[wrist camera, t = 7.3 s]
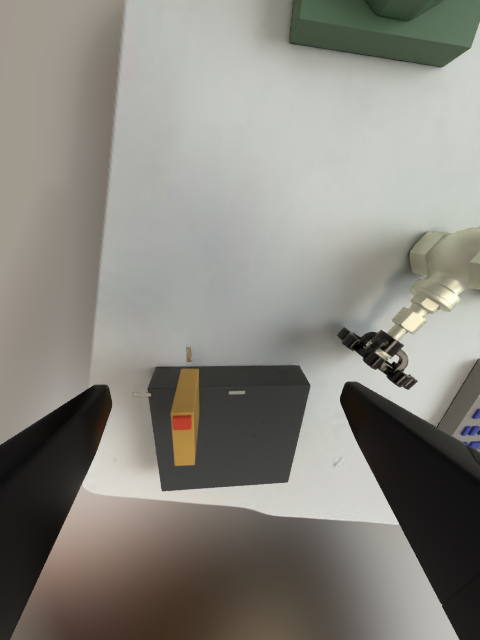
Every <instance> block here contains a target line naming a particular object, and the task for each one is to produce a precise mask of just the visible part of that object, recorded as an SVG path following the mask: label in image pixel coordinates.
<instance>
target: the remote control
mask: <svg viewBox="0 0 480 640" xmlns="http://www.w3.org/2000/svg"><path fill="white" fill-rule="evenodd" d="M437 428H439V429H440V430H442V431H444V432H446V433H447V434H449V435H451V436H453V437H454V438H456V439H458V440H460V441H461V442H463V443H464V444H465V445H469V446H470V447H472V448H474V449H476V450H477V451H479V452H480V359H479V360H478V361H477V363H476V365H475V366H474V368H473V370H472V371H471V373H470V374H469V376H468V378H467V379H466V381H465V383H464V384H463V386H462V388H461V389H460V391H459V392H458V394H457V396H456V397H455V399H454V401H453V402H452V404H451V406H450V407H449V409H448V410H447V412H446V414H445V415H444V417H443V419H442V420H441V422H440V424H439V425H438V427H437Z"/></svg>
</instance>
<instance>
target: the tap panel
mask: <svg viewBox="0 0 480 640" xmlns="http://www.w3.org/2000/svg"><path fill="white" fill-rule="evenodd" d="M186 353H187V362H192V353H191V345H186ZM181 369H199V424H198V435H197V446H196V458H195V465H184V466H175V463H174V450H173V438H172V425H171V409H172V405H173V401H174V397H175V392H176V388H177V384H178V380H179V376H180V372H181ZM309 390H310V384H309V382H308V380H307V378H306V377H305V375H304V373H303V371H302V370H301V368H300V366H226V367H156V369H155V372H154V374H153V377H152V379H151V381H150V384H149V386H148V392H133V397H147V396H149V404H150V411H151V418H152V425H153V432H154V439H155V446H156V453H157V460H158V467H159V475H160V482H161V489H162V491H173V490H187V489H201V488H215V487H229V486H244V485H258V484H272V483H286V482H288V480H289V476H290V471H291V467H292V463H293V458H294V454H295V450H296V446H297V441H298V437H299V433H300V429H301V424H302V420H303V416H304V411H305V407H306V403H307V399H308V394H309Z"/></svg>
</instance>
